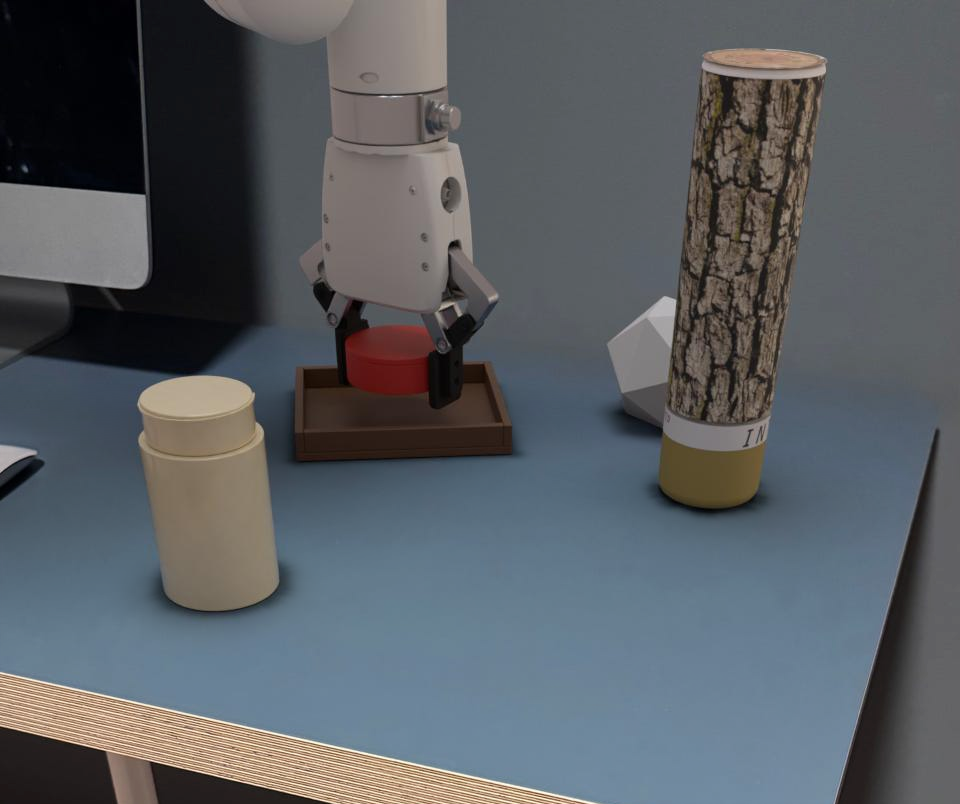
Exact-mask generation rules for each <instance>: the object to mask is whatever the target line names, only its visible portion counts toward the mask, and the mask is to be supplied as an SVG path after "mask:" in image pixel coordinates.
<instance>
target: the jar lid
mask: <svg viewBox="0 0 960 804" xmlns="http://www.w3.org/2000/svg"><path fill="white" fill-rule="evenodd" d="M345 349H346V366H347V378H348V381H349V382H350V383H351V384H352V385H353V386H354V387H356V388H358V389H361V390H364V391H367V392H371V393H376V394H383V395H411V394H419V393H425V392H429V381H428V355H429V353H430V352H432V351H434V350H436V348H435V346H434V344H433V341H432V339H431V337H430V335H429V332H428V330H427V328H426V326H419V325H413V324H411V325H410V324H387V325H379V326H372V327H369V328H367V329H364V330H361V331H358V332H356V333H354V334H352V335H350V336H349V337H348V338H347V339H346V341H345Z"/></svg>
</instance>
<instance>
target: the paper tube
mask: <svg viewBox="0 0 960 804" xmlns="http://www.w3.org/2000/svg"><path fill="white" fill-rule="evenodd" d="M702 57H703V61H702V63H701V66H700V73H699V74H700V75H699V84H698V94H697V104H696V112H695V113H696V114H695V123H694V132H693V141H692V151H691V160H690V169H689V177H688V178H689V179H688V188H687V197H686V206H685V217H684V226H683V236H682V245H681V255H680V264H679V273H678V281H677V283H678V284H677V290H676V291H677V292H676V299H675V300H676V310H675V319H674V329H673V338H672V347H671V357H670V366H669V376H668V385H667V395H666V404H665V413H664V423H663V428H662V436H661V446H660V447H661V448H660V455H659V464H658V475H657V481H658V486H659V487H660V488H661V490H662V492H663V493H664V494H665V495H666V496H667V497H669V498H670V499H672V500H674V501H675V502H677V503H680V504H683V505H686V506H689V507H694V508H699V509H712V510H713V509H714V510H715V509H728V508H733V507H737V506H740V505H742V504H744V503H746V502H748V501H750V500H751V499H752V498H753V497H754V496H755V495H756V494H757V492H758V490H759V487H760V481H761V475H762V470H763V464H764V456H765V450H766V445H767V439H768V435H769V428H770V423H771V422H770V421H771V417H772V408H773V405H774V398H775V392H776V385H777V381H778V380H777V379H778V374H779V373H778V372H779V367H780V360H781V355H782V348H783V342H784V341H783V340H784V335H785V329H786V323H787V317H788V310H789V305H790V299H791V293H792V287H793V280H794V274H795V267H796V261H797V255H798V249H799V242H800V238H801V237H800V236H801V231H802V224H803V217H804V212H805V205H806V199H807V192H808V187H809V181H810V175H811V170H812V169H811V168H812V162H813V157H814V149H815V144H816V139H817V132H818V126H819V125H818V124H819V119H820V113H821V107H822V101H823V94H824V87H825V83H826V82H825V81H826V76H827V67H826V64H827V63H828V59H827V58H826V57H823V56H821V55H819V54H813V53H808V52H803V51H795V50H788V49H787V50H786V49H774V48H773V49H771V48H729V49H718V50H712V51H708V52H706V53H704V54H703V55H702Z"/></svg>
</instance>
